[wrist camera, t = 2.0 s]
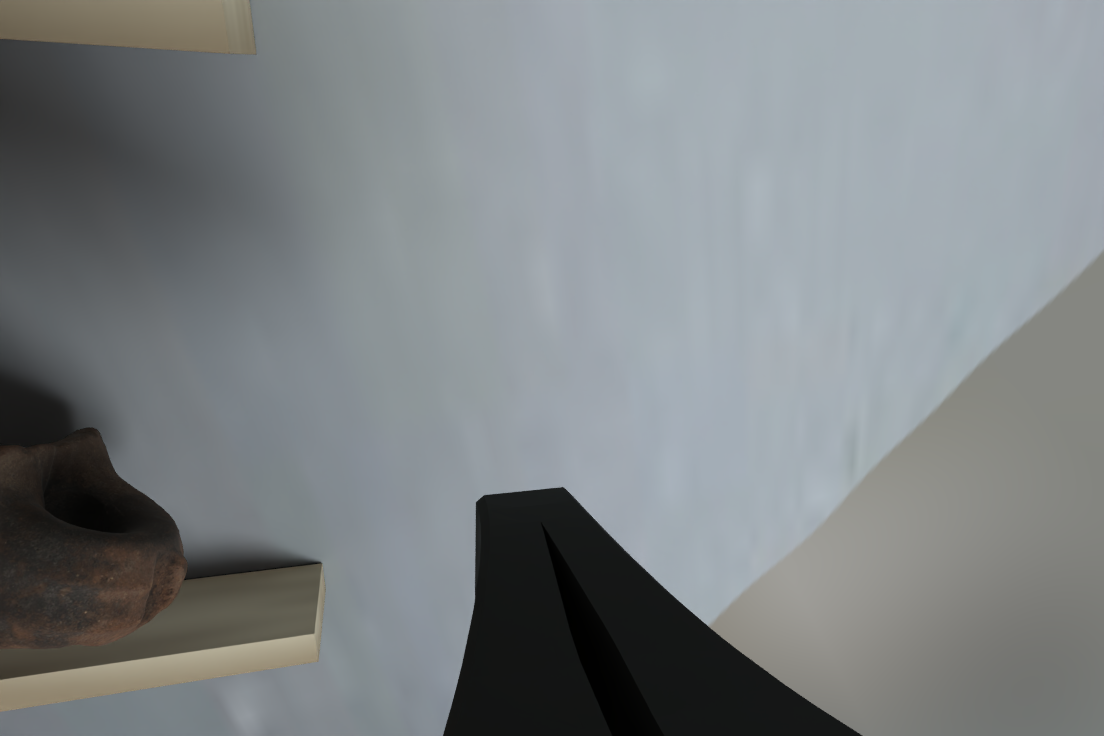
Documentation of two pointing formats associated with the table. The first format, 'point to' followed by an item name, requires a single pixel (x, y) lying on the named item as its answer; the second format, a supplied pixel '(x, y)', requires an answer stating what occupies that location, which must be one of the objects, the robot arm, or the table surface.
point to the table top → (202, 604)
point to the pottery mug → (79, 547)
